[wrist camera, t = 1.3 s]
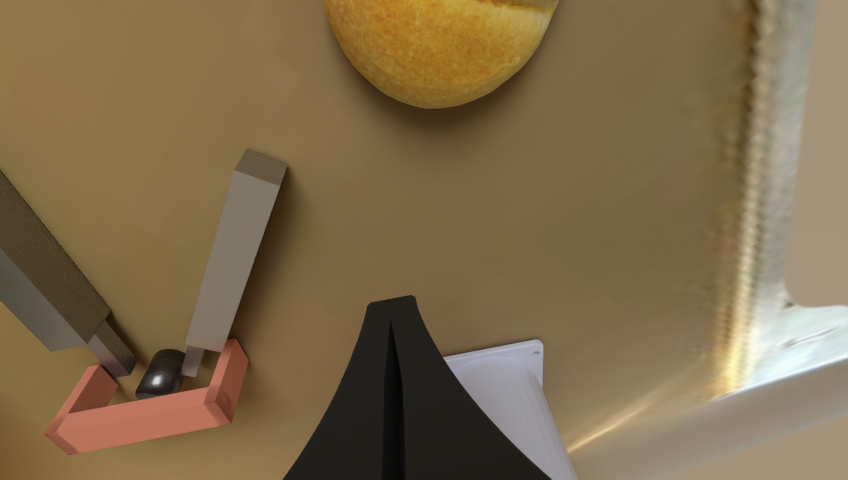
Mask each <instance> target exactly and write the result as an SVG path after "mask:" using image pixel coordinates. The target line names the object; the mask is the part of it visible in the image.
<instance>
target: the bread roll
mask: <svg viewBox="0 0 848 480" xmlns="http://www.w3.org/2000/svg"><path fill="white" fill-rule="evenodd" d="M558 2H559V0H324V7H325V12H326V15H327V18H328V21H329V24H330V26H331V28H332V31H333V33H334V35H335V37H336V39H337V41H338V43H339V45H340V46H341V48H342V50H343V52H344V53H345V55H346V56H347V58H348V59H349V61H350V62H351V64H352V65H353V67H354V68H355V69H356V70H358V71H359V72H360V73H361V74H362V75H363V76H364V77H365V78H366V79H367V80H368V81H369V82H370V83H371V84H373V85H374V86H375V87H376V88H377V89H379V90H380V91H381V92H383V93H384V94H386V95H388V96H390V97H392V98H394V99H396V100H398V101H400V102H403V103H406V104H409V105H412V106H415V107H420V108H428V109H434V108H447V107H453V106H458V105H462V104H465V103H468V102H471V101H473V100H476V99H478V98H480V97H482V96H484V95H486V94H488V93H491V92H492V91H494V90H495V89H496V88H497V87H498V86H500V85H501V84H502V83H504V82H505V81H506V80H508V79H509V78H510V77H512V76H513V75H514V74H515V73H516V72H518V71H519V70H520V69H521V68H522V67H523V66H524V65H525V64H526V62H527V61H528V60H529V59H530V57H531V56H532V55H533V53H534V52H535V51H536V49H537V47H538V46H539V44H540V42H541V40H542V38H543V36H544V34H545V32H546V30H547V28H548V26H549V23H550V21H551V18H552V15H553V13H554V11H555V8H556V6H557V4H558Z"/></svg>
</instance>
